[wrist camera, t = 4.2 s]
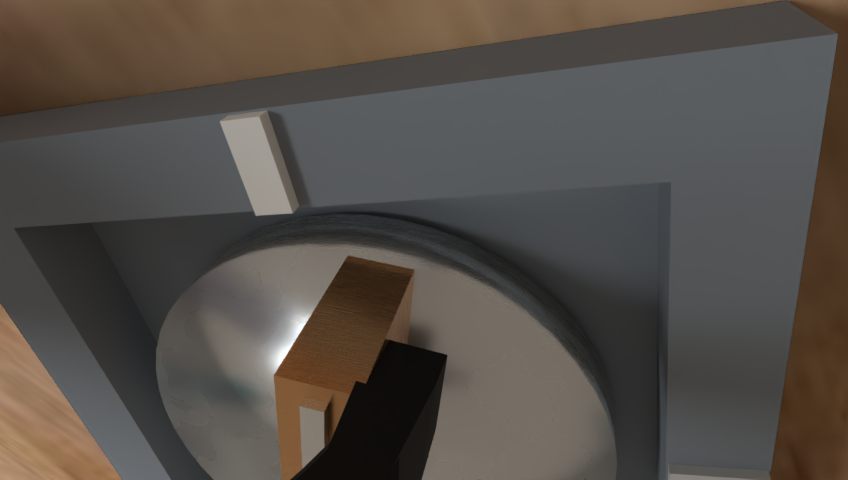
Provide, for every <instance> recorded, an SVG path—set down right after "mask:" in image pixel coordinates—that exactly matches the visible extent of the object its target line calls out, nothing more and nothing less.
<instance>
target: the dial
mask: <svg viewBox="0 0 848 480" xmlns="http://www.w3.org/2000/svg"><path fill="white" fill-rule="evenodd" d="M389 340H392V341H396V342H400V343H404V344H408V345H412V346H414V347H415V346H416V347H419V348H423V349H427V350H431V351H435V352H439V353H443V354H446V355H448V356H447V362H446V369H445V375H444V381H443V387H442V394H441V400H440V406H439V413H438V419H437V425H436V430H435V434H434V438H433V441H432V445H431V448H430V452H429V456H428V459H427V463H426V466H425V470H424V473H423V477H422V480H616V471H617V456H616V437H615V418H614V408H613V398H612V393H611V389H610V386H609V382H608V379H607V376H606V372H605V370H604V368H603V365H602V363H601V361H600V359H599V357H598V355H597V353H596V351H595V349H594V347H593V345H592V344H591V342H590V341H589V340H588V338H587V337H586V335H585V334H584V332H583V331H582V329H581V328H580V326H579V325H578V324H577V322H576V321H575V320H574V319H573V318H572V317H571V316H570V315H569V313H568V312H567V311H566V310H565V309H564V308H563V307H562V306H561V305H560V304H559V302H558V301H557V300H556V299H555V298H554V297H552V296H551V295H550V294H549V293H548V292H547V291H545V290H544V289H543V288H542V287H541V286H539V285H538V284H537V283H536V282H535V281H534V280H532V279H531V278H530V277H529V276H527V275H526V274H524V273H523V272H521V271H520V270H518V269H517V268H515V267H514V266H512V265H511V264H509V263H508V262H506V261H505V260H503V259H502V258H500V257H498V256H496V255H494V254H492V253H490V252H488V251H486V250H484V249H482V248H480V247H478V246H476V245H475V244H473V243H471V242H469V241H466V240H464V239H461V238H458V237H456V236H453V235H450V234H448V233H445V232H443V231H440V230H437V229H435V228H431V227H427V226H423V225H419V224H415V223H412V222H408V221H404V220H400V219H393V218H386V217H379V216H372V215H361V214H326V215H317V216H307V217H300V218H296V219H292V220H288V221H284V222H280V223H276V224H273V225H270V226H268V227H265V228H263V229H261V230H258V231H256V232H253V233H251V234H249V235H247V236H246V237H244V238H242V239H241V240H239V241H238V242H236V243H234V244H233V245H231V246H230V247H228V248H227V249H226V250H225V251H224V252H223V253H222V254H221V255H220V256H219V257H218V258H216V259H215V260H214V261H213V262H212V263H211V264H210V265H209V266H208V267H207V268H206V269H205V270H204V272H203V273H202V274H201V275H200V276H199V277H198V278H197V279H196V280H195V281H194V282H193V283H192V284H191V285H190V286H189V287H188V288H187V289H186V290H185V291H184V292H183V294H182V295H181V296H180V297H179V299H178V300H177V301H176V303H175V304H174V305H173V307H172V308H171V309H170V311H169V312H168V315H167V317H166V319H165V321H164V323H163V326H162V328H161V330H160V334H159V339H158V344H157V348H156V374H157V381H158V387H159V391H160V395H161V398H162V401H163V404H164V407H165V410H166V412H167V414H168V416H169V418H170V420H171V423H172V425H173V427H174V429H175V430H176V432H177V434H178V435H179V437H180V438H181V440H182V442H183V443H184V445H185V446H186V448H187V449H188V450H189V452H190V453H191V454H192V456H193V457H194V458H195V459H196V461H197V462H198V463H199V465H200V466H201V467H202V468H203V469H204V470H205V471H206V472H207V473H208V474H209V475H210V476H211V477H212V478H213V480H290V479H291V478H293V477H294V476H295V475H296V474H297V473H298V472H299V471H300V470H301V469H303V468H304V467H305V466H306V465H307V464H308V463H309V462H310V461H311V460H312V459H313V458H314V457H315V456H316V455H317V454H318V453H319V452H320V451H321V450H322V449H323V448H324V447H325V446H326V445H327V444H328V443H329V442H330V441H331V439H332V437H333V434H334V432H335V430H336V427H337V425H338V422H339V420H340V418H341V415H342V413H343V410H344V408H345V406H346V403H347V401H348V398H349V396H350V394H351V391H352V389H353V387H354V384H355V382H356V381H359V382H362V383H365V384H366V382H367V380H368V378H369V376H370V375H371V373H372V371H373V369H374V367H375V365H376V363H377V361H378V359H379V357H380V356H381V354H382V352H383V350H384V349H385V347H386V345H387V344H388V342H389Z"/></svg>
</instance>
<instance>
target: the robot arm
mask: <svg viewBox="0 0 848 480" xmlns="http://www.w3.org/2000/svg"><path fill="white" fill-rule="evenodd" d="M447 356H448V355H446V354H443V353H439V352H435V351H431V350H427V349H423V348H419V347H416V346H415V347H414V346H412V345H408V344H404V343H400V342H396V341H392V340H389V342H388V344H387V345H386V347H385V349H384V350H383V352H382V354H381V356H380V357H379V359H378V361H377V363H376V365H375V367H374V369H373V371H372V373H371V375H370V376H369V378H368V380H367V382H366V384H365V383H362V382H359V381H356V382H355V384H354V387H353V389H352V391H351V394H350V396H349V398H348V401H347V403H346V406H345V408H344V410H343V413H342V415H341V418H340V420H339V422H338V425H337V427H336V430H335V432H334V434H333V437H332V439H331V441H330V442H329V443H328V444H327V445H326V446H325V447H324V448H323V449H322V450H321V451H320V452H319V453H318V454H317V455H316V456H315V457H314V458H313V459H312V460H311V461H310V462H309V463H308V464H307V465H306V466H305V467H304V468H303V469H301V470H300V471H299V472H298V473H297V474H296V475H295V476H294V477H293V478H291V479H290V480H422V477H423V473H424V470H425V466H426V463H427V459H428V456H429V452H430V448H431V445H432V441H433V438H434V434H435V430H436V425H437V419H438V413H439V406H440V400H441V394H442V387H443V381H444V375H445V369H446V362H447Z"/></svg>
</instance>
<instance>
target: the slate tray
mask: <svg viewBox="0 0 848 480" xmlns="http://www.w3.org/2000/svg"><path fill="white" fill-rule="evenodd" d="M837 38H838V33H837V32H835V31H833V30H832V29H830V28H829V27H827V26H826V25H824V24H822V23H821V22H819V21H818V20H816V19H815V18H813V17H812V16H810V15H808V14H807V13H805V12H804V11H802V10H801V9H799V8H797V7H796V6H794V5H793V4H791V3H790V2H788V1H786V0H784V1H778V2H771V3H764V4H757V5H751V6H744V7H737V8H730V9H723V10H717V11H710V12H703V13H696V14H690V15H683V16H676V17H669V18H663V19H656V20H649V21H642V22H636V23H629V24H622V25H615V26H608V27H602V28H595V29H588V30H581V31H575V32H568V33H561V34H554V35H548V36H541V37H534V38H527V39H521V40H514V41H507V42H500V43H494V44H487V45H480V46H473V47H466V48H460V49H453V50H446V51H439V52H433V53H426V54H419V55H412V56H406V57H399V58H392V59H385V60H379V61H372V62H365V63H358V64H351V65H345V66H338V67H331V68H324V69H318V70H311V71H304V72H297V73H291V74H284V75H277V76H270V77H264V78H257V79H250V80H243V81H236V82H230V83H223V84H216V85H209V86H203V87H196V88H189V89H182V90H176V91H169V92H162V93H155V94H149V95H142V96H135V97H128V98H121V99H115V100H108V101H101V102H94V103H88V104H81V105H74V106H67V107H61V108H54V109H47V110H40V111H34V112H27V113H20V114H13V115H6V116H0V303H1V305H2V306H3V308H4V309H5V310H6V312H7V313H8V315H9V316H10V318H11V319H12V321H13V322H14V323H15V325H16V326H17V328H18V329H19V331H20V332H21V334H22V335H23V337H24V338H25V339H26V341H27V342H28V344H29V345H30V347H31V348H32V350H33V351H34V352H35V354H36V355H37V357H38V358H39V360H40V361H41V363H42V364H43V366H44V367H45V368H46V370H47V371H48V373H49V374H50V376H51V377H52V379H53V380H54V381H55V383H56V384H57V386H58V387H59V389H60V390H61V392H62V393H63V395H64V396H65V397H66V399H67V400H68V402H69V403H70V405H71V406H72V408H73V409H74V410H75V412H76V413H77V415H78V416H79V418H80V419H81V421H82V422H83V423H84V425H85V426H86V428H87V429H88V431H89V432H90V434H91V435H92V437H93V438H94V439H95V441H96V442H97V444H98V445H99V447H100V448H101V450H102V451H103V452H104V454H105V455H106V457H107V458H108V460H109V461H110V463H111V464H112V466H113V467H114V468H115V470H116V471H117V473H118V474H119V476H120V477H121V479H122V480H213V478H212V477H211V476H210V475H209V474H208V473H207V472H206V471H205V470H204V469H203V468H202V467H201V466H200V465H199V463H198V462H197V461H196V459H195V458H194V457H193V456H192V454H191V453H190V452H189V450H188V449H187V448H186V446H185V445H184V443H183V442H182V440H181V438H180V437H179V435H178V434H177V432H176V430H175V429H174V427H173V425H172V423H171V420H170V418H169V416H168V414H167V412H166V410H165V407H164V404H163V401H162V398H161V395H160V391H159V387H158V381H157V374H156V348H157V344H158V339H159V334H160V330H161V328H162V326H163V323H164V321H165V319H166V317H167V315H168V312H169V311H170V309H171V308H172V307H173V305H174V304H175V303H176V301H177V300H178V299H179V297H180V296H181V295H182V294H183V292H184V291H185V290H186V289H187V288H188V287H189V286H190V285H191V284H192V283H193V282H194V281H195V280H196V279H197V278H198V277H199V276H200V275H201V274H202V273H203V272H204V270H205V269H206V268H207V267H208V266H209V265H210V264H211V263H212V262H213V261H214V260H215V259H216V258H218V257H219V256H220V255H221V254H222V253H223V252H224V251H225V250H226V249H227V248H228V247H230V246H231V245H233V244H234V243H236V242H238V241H239V240H241V239H242V238H244V237H246V236H247V235H249V234H251V233H253V232H256V231H258V230H261V229H263V228H265V227H268V226H270V225H273V224H276V223H280V222H284V221H288V220H292V219H296V218H300V217H307V216H317V215H326V214H361V215H372V216H379V217H386V218H393V219H400V220H404V221H408V222H412V223H415V224H419V225H423V226H427V227H431V228H435V229H437V230H440V231H443V232H445V233H448V234H450V235H453V236H456V237H458V238H461V239H464V240H466V241H469V242H471V243H473V244H475V245H476V246H478V247H480V248H482V249H484V250H486V251H488V252H490V253H492V254H494V255H496V256H498V257H500V258H502V259H503V260H505V261H506V262H508V263H509V264H511V265H512V266H514V267H515V268H517V269H518V270H520V271H521V272H523V273H524V274H526V275H527V276H529V277H530V278H531V279H532V280H534V281H535V282H536V283H537V284H538V285H539V286H541V287H542V288H543V289H544V290H545V291H547V292H548V293H549V294H550V295H551V296H552V297H554V298H555V299H556V300H557V301H558V302H559V304H560V305H561V306H562V307H563V308H564V309H565V310H566V311H567V312H568V313H569V315H570V316H571V317H572V318H573V319H574V320H575V321H576V322H577V324H578V325H579V326H580V328H581V329H582V331H583V332H584V334H585V335H586V337H587V338H588V340H589V341H590V342H591V344H592V345H593V347H594V349H595V351H596V353H597V355H598V357H599V359H600V361H601V363H602V365H603V368H604V370H605V372H606V376H607V379H608V382H609V386H610V389H611V393H612V398H613V408H614V418H615V437H616V456H617V471H616V480H771V478H770V473H771V466H772V460H773V453H774V447H775V441H776V434H777V428H778V421H779V415H780V408H781V402H782V395H783V389H784V382H785V376H786V369H787V363H788V356H789V350H790V343H791V337H792V330H793V324H794V317H795V311H796V304H797V298H798V291H799V285H800V278H801V272H802V265H803V259H804V252H805V246H806V239H807V233H808V227H809V220H810V214H811V207H812V201H813V194H814V188H815V181H816V175H817V168H818V162H819V155H820V149H821V142H822V136H823V129H824V123H825V116H826V110H827V103H828V97H829V90H830V84H831V77H832V71H833V64H834V58H835V51H836V45H837Z"/></svg>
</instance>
